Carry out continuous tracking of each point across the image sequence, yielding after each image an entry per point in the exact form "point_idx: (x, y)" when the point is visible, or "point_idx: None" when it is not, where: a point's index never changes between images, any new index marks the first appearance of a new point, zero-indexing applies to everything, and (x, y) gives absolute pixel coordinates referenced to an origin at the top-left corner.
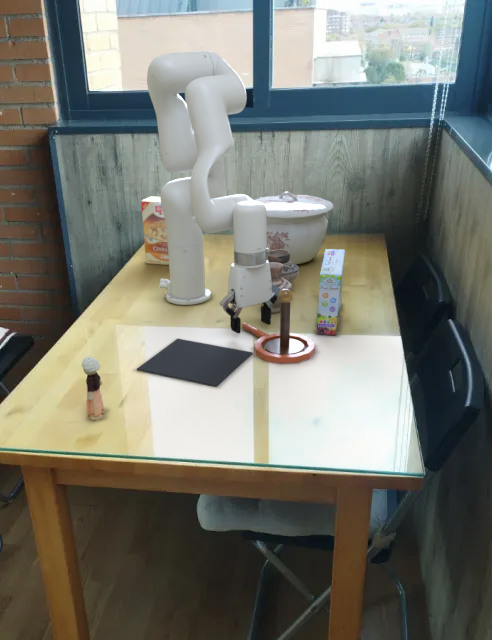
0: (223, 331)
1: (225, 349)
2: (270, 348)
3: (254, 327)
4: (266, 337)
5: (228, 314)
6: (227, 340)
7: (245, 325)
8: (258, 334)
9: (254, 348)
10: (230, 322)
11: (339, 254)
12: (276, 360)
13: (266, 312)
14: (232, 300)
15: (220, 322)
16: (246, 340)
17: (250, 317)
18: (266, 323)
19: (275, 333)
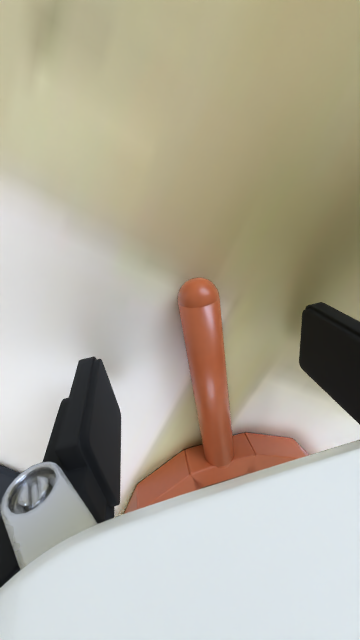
0: (48, 269)
1: (2, 491)
2: None
3: (218, 383)
4: (208, 480)
5: (14, 486)
6: (42, 393)
7: (191, 329)
8: (201, 428)
9: (135, 491)
10: (54, 426)
11: None
12: None
13: (353, 402)
14: (72, 573)
15: (67, 61)
16: (138, 415)
17: (325, 107)
18: (301, 355)
19: (262, 457)
